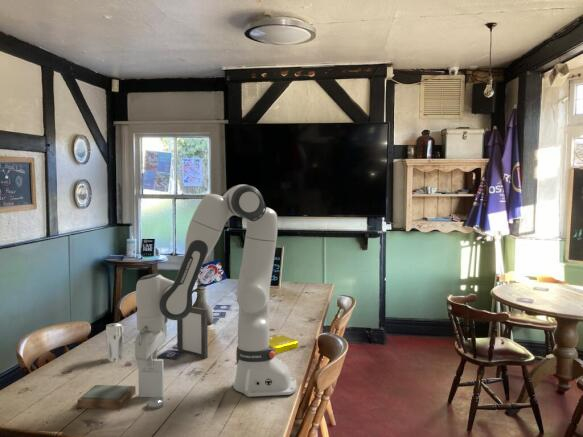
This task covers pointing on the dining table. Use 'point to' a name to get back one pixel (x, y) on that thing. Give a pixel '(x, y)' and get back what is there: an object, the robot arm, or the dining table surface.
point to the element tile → (282, 343)
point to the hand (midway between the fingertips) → (151, 363)
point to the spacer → (155, 403)
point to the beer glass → (115, 341)
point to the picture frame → (193, 333)
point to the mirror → (106, 397)
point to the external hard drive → (151, 379)
